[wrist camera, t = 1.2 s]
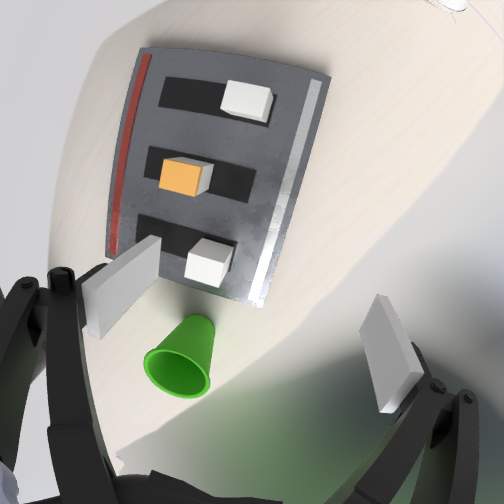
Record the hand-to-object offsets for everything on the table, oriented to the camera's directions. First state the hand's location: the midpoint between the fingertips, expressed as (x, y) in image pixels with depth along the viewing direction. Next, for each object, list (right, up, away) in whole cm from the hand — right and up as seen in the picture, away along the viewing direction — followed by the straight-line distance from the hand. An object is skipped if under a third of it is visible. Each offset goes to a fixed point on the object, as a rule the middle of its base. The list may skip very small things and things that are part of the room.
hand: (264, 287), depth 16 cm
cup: (-9, -10, +26) cm, 29 cm away
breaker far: (-5, +2, +19) cm, 19 cm away
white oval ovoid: (+25, +37, +4) cm, 44 cm away
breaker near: (-1, +18, +12) cm, 21 cm away
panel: (-7, +12, +18) cm, 22 cm away
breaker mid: (-7, +11, +15) cm, 20 cm away
